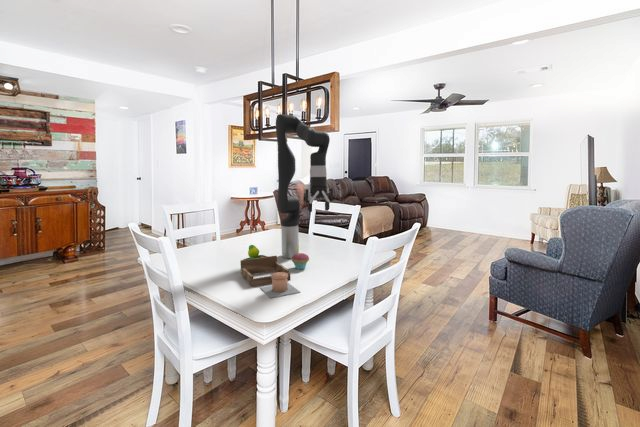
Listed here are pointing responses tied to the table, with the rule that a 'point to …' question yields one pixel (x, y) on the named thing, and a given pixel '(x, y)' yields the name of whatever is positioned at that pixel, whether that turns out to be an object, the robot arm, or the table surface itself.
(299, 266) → the cupcake
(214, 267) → the table surface
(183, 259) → the table surface
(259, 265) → the frame
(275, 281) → the peach round knob
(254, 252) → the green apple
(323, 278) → the table surface
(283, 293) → the gray square base plate
